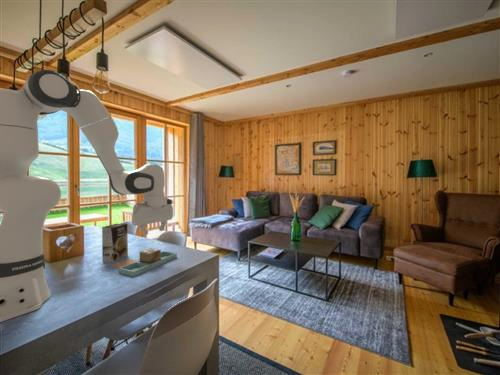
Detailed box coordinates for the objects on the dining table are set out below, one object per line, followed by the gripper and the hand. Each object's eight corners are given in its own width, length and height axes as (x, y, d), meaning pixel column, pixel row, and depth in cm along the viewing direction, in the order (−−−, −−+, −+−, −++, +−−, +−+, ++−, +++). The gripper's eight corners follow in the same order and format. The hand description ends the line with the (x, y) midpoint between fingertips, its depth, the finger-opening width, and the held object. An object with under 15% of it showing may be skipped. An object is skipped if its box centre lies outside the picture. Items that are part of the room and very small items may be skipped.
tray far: (164, 263, 105) (164, 258, 105) (150, 261, 108) (150, 256, 108) (176, 258, 112) (176, 253, 112) (163, 255, 116) (163, 251, 115)
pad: (125, 270, 97) (125, 268, 97) (111, 267, 101) (111, 265, 101) (143, 263, 105) (143, 261, 105) (129, 260, 109) (129, 258, 109)
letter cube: (150, 267, 99) (149, 253, 99) (139, 265, 101) (139, 251, 101) (160, 263, 104) (160, 249, 104) (150, 261, 107) (150, 247, 107)
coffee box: (114, 263, 106) (113, 227, 105) (101, 262, 107) (101, 226, 106) (128, 256, 114) (128, 223, 114) (117, 255, 116) (116, 222, 115)
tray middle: (149, 270, 98) (149, 264, 98) (136, 267, 101) (136, 261, 101) (164, 263, 105) (164, 258, 105) (150, 261, 108) (150, 256, 108)
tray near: (133, 277, 90) (133, 271, 90) (119, 274, 94) (118, 268, 94) (149, 270, 98) (149, 264, 98) (136, 267, 101) (136, 261, 101)
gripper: (139, 203, 93) (139, 238, 94) (175, 200, 112) (175, 229, 112) (128, 202, 96) (128, 236, 96) (165, 199, 115) (165, 228, 115)
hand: (153, 232), depth 104 cm, fingers open, 8 cm apart
